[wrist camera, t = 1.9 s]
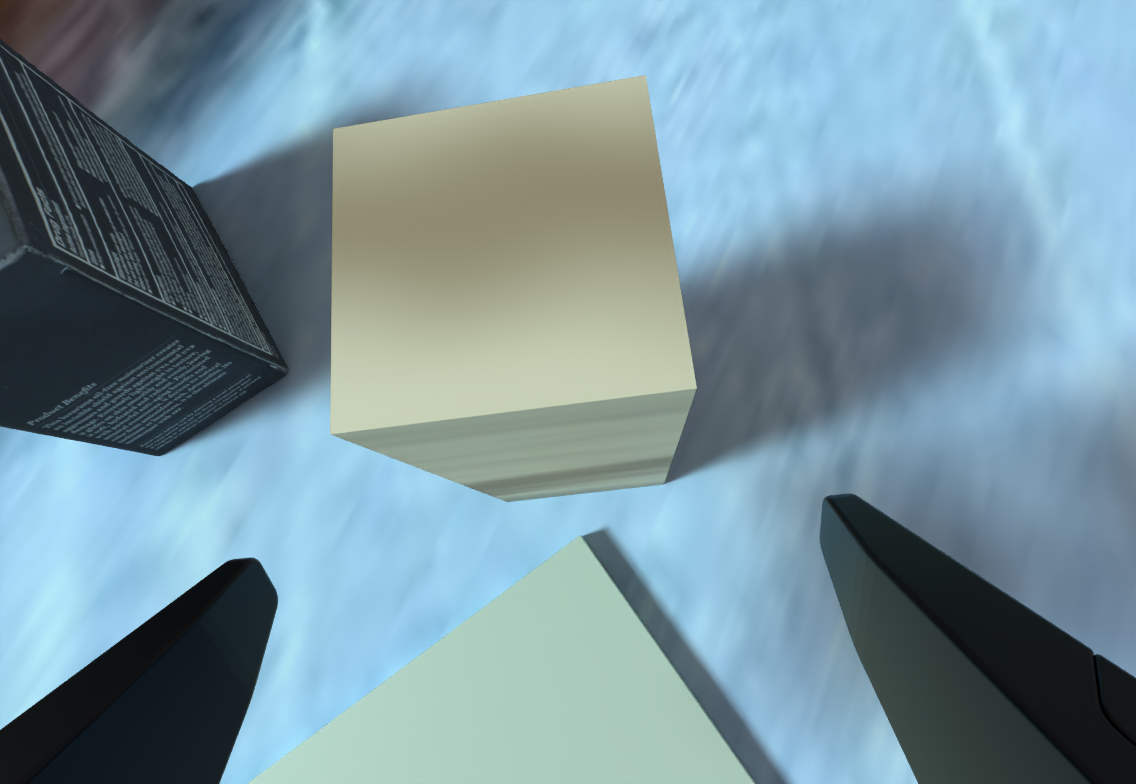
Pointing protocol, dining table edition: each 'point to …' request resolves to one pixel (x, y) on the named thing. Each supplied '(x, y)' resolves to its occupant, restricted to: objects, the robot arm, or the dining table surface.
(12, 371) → the small box
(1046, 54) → the dining table surface
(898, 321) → the dining table surface
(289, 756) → the sage board
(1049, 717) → the robot arm
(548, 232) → the maple block
